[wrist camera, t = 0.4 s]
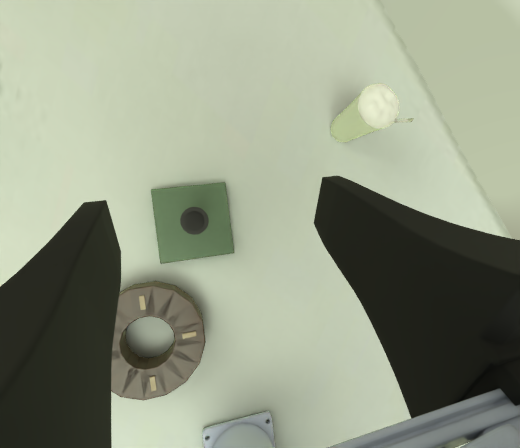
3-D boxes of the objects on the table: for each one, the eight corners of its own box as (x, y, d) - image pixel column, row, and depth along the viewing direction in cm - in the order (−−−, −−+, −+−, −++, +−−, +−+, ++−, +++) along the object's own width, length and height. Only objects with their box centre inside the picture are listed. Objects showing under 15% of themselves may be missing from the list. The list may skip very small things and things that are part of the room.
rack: (232, 252, 37) (242, 257, 31) (161, 262, 35) (155, 270, 29) (223, 183, 37) (231, 173, 30) (152, 190, 35) (143, 181, 29)
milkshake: (348, 159, 41) (400, 137, 31) (318, 130, 40) (360, 98, 30) (369, 133, 41) (425, 103, 31) (339, 104, 40) (387, 65, 31)
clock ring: (209, 372, 36) (211, 385, 33) (102, 396, 34) (94, 413, 31) (196, 274, 36) (197, 278, 33) (89, 291, 34) (78, 297, 31)
